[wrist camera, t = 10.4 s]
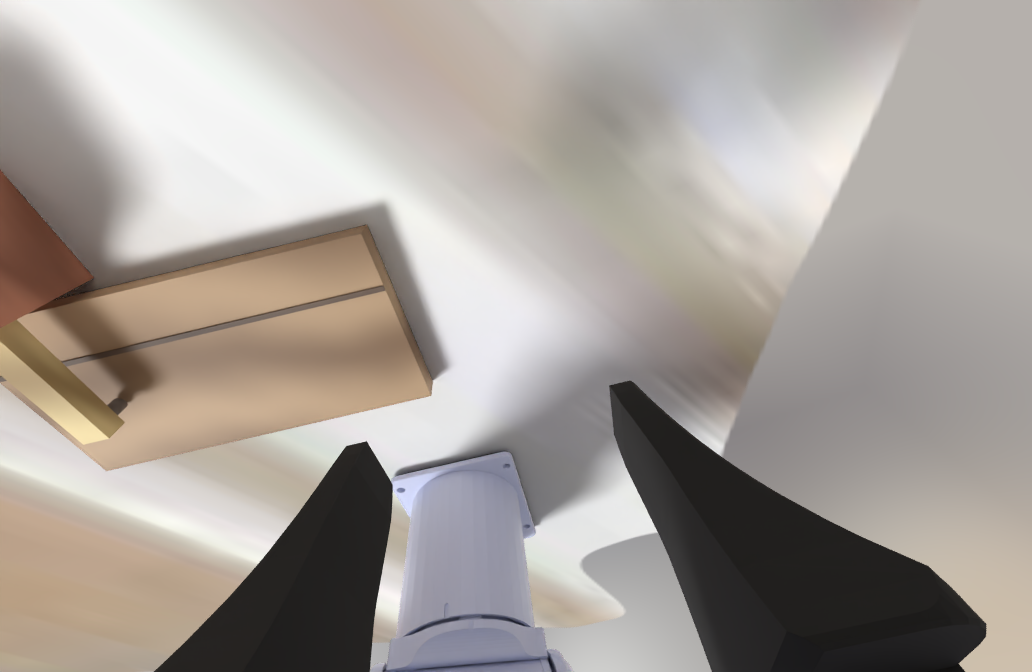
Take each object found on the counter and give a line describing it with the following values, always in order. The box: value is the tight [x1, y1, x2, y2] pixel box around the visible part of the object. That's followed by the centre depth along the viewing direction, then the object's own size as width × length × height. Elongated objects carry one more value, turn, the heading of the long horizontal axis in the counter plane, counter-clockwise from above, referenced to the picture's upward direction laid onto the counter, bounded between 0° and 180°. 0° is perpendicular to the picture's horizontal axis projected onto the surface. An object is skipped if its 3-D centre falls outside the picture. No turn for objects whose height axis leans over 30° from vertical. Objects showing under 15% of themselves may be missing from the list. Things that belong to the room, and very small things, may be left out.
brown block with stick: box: [0, 170, 128, 445], centre depth 16 cm, size 11×4×5 cm, turn 11°
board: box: [0, 225, 433, 471], centre depth 19 cm, size 9×18×1 cm, turn 101°
